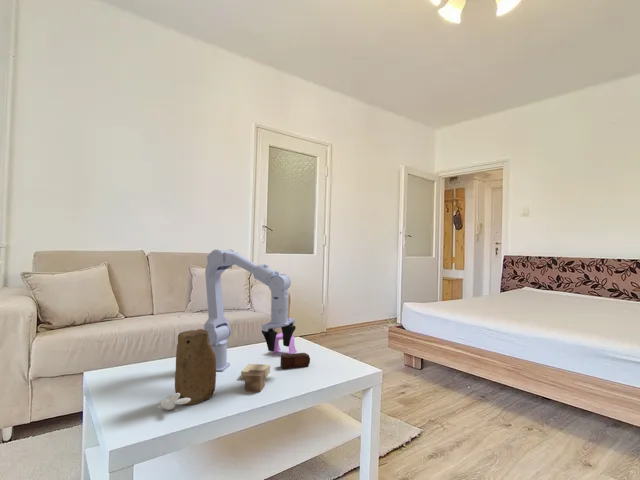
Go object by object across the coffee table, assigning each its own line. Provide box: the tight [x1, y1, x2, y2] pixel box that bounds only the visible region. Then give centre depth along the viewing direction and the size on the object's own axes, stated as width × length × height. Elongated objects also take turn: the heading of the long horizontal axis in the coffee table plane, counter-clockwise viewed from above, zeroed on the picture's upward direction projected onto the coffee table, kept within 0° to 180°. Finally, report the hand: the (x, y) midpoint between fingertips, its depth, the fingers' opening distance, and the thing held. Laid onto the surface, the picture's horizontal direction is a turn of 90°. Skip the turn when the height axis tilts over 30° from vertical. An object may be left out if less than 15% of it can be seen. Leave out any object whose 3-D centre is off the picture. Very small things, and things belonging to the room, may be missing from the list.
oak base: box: [240, 363, 271, 380], centre depth 122 cm, size 8×8×3 cm
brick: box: [280, 352, 311, 370], centre depth 132 cm, size 11×4×5 cm, turn 111°
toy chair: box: [272, 317, 297, 354], centre depth 150 cm, size 8×9×15 cm
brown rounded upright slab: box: [174, 328, 217, 405], centre depth 103 cm, size 11×8×20 cm
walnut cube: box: [244, 370, 266, 393], centre depth 111 cm, size 5×5×5 cm
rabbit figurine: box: [157, 393, 191, 413], centre depth 95 cm, size 6×4×8 cm
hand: (278, 348), depth 121 cm, fingers open, 7 cm apart
